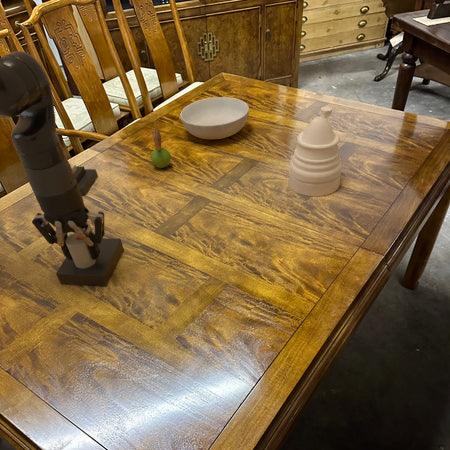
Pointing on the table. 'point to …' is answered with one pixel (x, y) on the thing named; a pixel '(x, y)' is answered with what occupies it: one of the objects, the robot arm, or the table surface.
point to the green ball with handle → (159, 152)
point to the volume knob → (79, 251)
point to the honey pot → (316, 159)
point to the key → (74, 168)
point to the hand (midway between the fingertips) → (84, 256)
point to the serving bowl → (215, 117)
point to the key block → (85, 179)
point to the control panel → (93, 266)
